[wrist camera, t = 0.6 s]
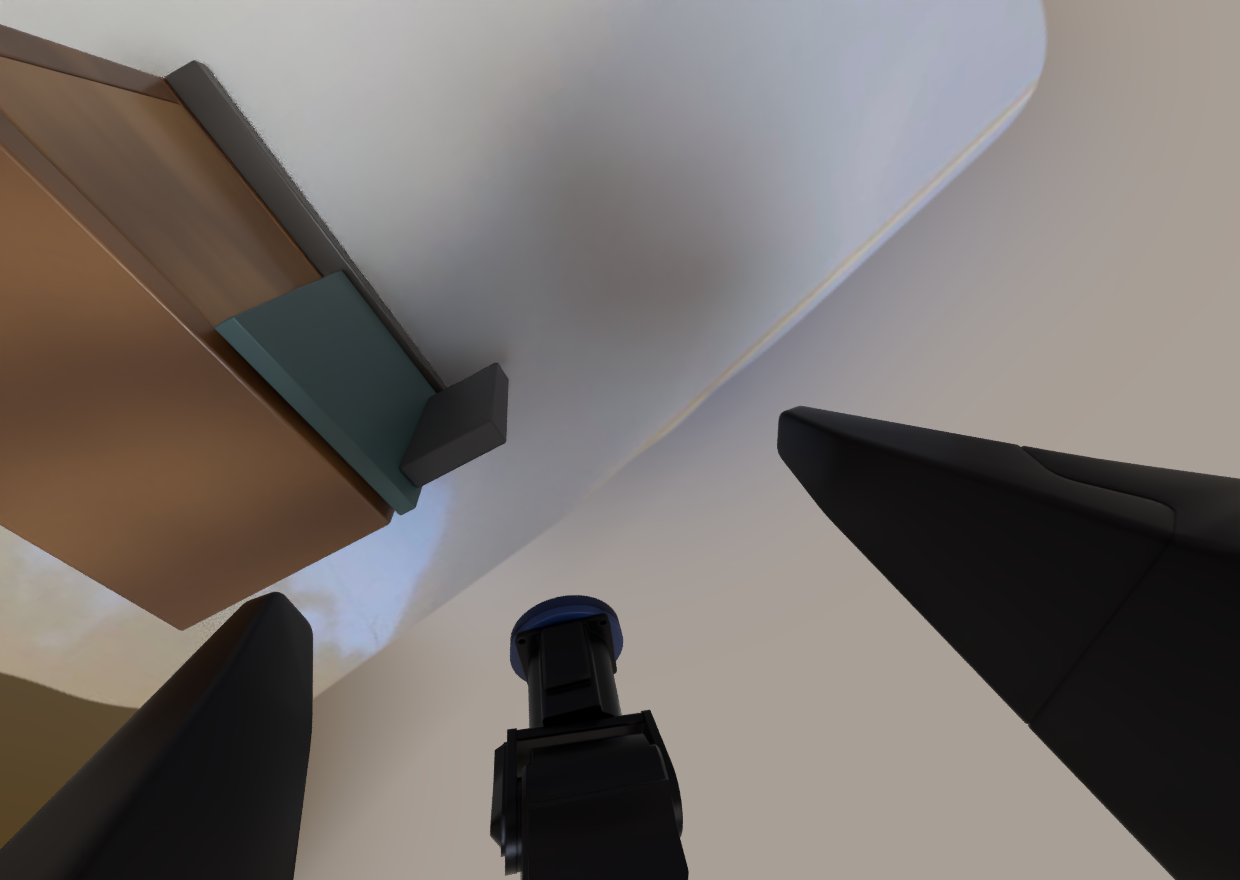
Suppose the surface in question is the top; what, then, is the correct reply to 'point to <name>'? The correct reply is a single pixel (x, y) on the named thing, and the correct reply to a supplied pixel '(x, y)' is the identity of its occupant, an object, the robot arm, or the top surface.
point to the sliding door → (368, 388)
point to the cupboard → (157, 338)
